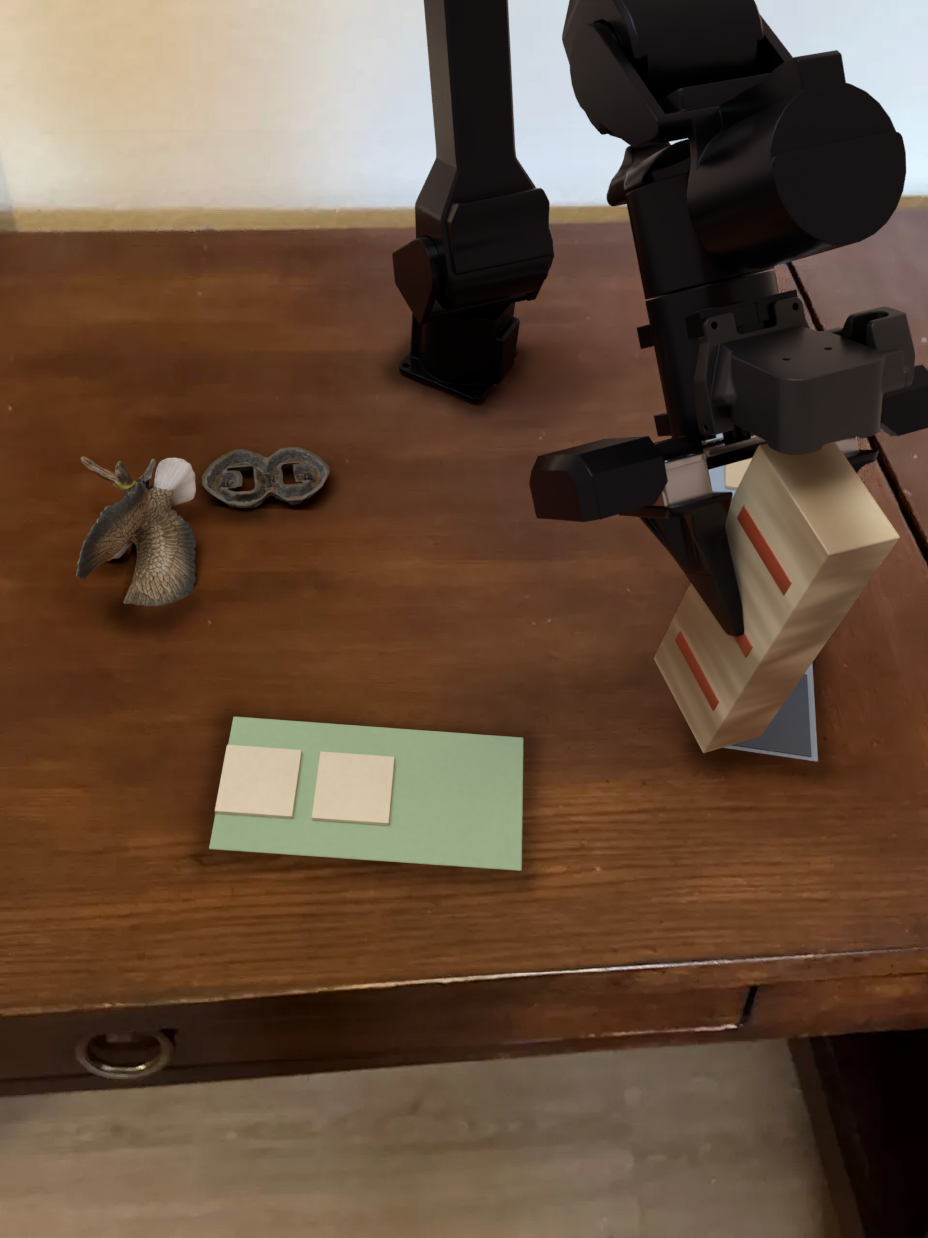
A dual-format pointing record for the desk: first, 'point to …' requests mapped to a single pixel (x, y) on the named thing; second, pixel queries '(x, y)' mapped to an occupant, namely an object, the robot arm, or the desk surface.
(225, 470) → the corroded twin loop
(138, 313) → the desk surface
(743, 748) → the right mat
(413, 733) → the left mat
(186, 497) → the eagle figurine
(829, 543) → the red striped wooden block
